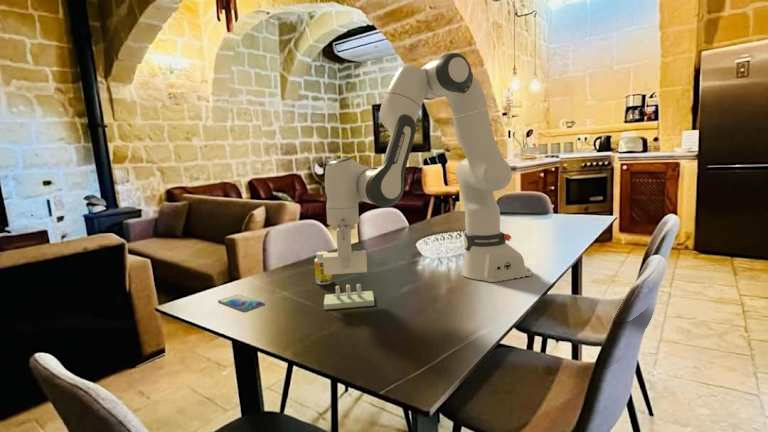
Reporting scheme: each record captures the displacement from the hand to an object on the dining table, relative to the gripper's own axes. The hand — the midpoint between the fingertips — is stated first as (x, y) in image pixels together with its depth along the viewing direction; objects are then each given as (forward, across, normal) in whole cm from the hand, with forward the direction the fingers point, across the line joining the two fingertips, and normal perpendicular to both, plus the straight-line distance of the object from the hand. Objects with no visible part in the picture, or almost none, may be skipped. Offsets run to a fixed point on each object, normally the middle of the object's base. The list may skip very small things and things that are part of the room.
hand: (345, 265), depth 120 cm
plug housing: (+2, 0, 0) cm, 2 cm away
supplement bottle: (+11, +21, +8) cm, 25 cm away
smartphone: (+12, +7, +32) cm, 35 cm away
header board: (+11, 0, 0) cm, 11 cm away
